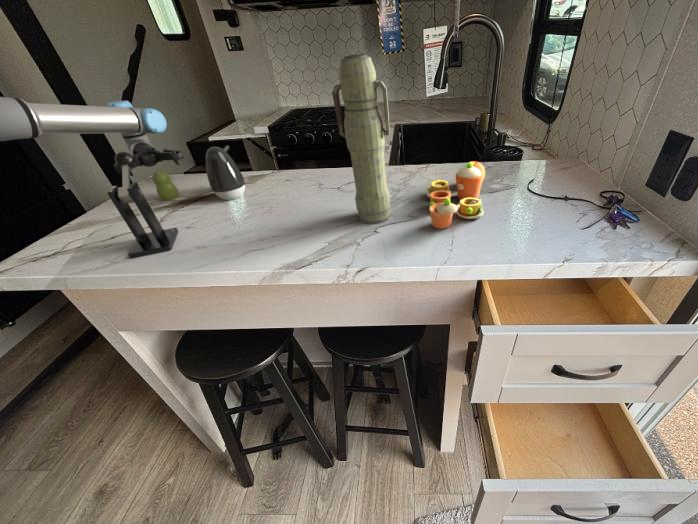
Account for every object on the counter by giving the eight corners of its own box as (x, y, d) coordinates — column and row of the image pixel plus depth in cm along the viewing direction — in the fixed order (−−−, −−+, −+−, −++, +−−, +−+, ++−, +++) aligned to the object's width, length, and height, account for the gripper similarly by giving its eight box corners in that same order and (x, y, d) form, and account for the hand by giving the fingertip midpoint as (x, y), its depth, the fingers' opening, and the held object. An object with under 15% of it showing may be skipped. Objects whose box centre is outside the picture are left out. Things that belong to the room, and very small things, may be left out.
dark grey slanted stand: (141, 238, 89) (107, 183, 80) (178, 231, 91) (149, 176, 82) (130, 258, 81) (90, 199, 72) (171, 250, 83) (137, 191, 74)
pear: (163, 207, 105) (146, 175, 99) (164, 202, 109) (147, 171, 102) (183, 203, 107) (167, 171, 101) (183, 198, 111) (167, 167, 104)
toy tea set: (426, 191, 101) (426, 157, 95) (479, 189, 100) (482, 155, 93) (424, 232, 81) (423, 193, 75) (489, 231, 79) (494, 191, 73)
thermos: (355, 210, 94) (330, 56, 72) (397, 208, 93) (385, 51, 71) (350, 224, 87) (321, 59, 65) (395, 222, 86) (382, 54, 64)
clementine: (466, 192, 98) (468, 167, 94) (453, 185, 103) (454, 161, 99) (488, 186, 101) (491, 161, 96) (474, 179, 106) (476, 156, 101)
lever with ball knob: (121, 162, 84) (110, 149, 80) (139, 159, 85) (129, 146, 81) (122, 206, 79) (110, 195, 75) (141, 203, 80) (130, 191, 76)
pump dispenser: (256, 192, 110) (239, 142, 101) (232, 204, 103) (211, 153, 94) (233, 189, 114) (215, 141, 104) (209, 201, 107) (186, 150, 97)
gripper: (186, 156, 129) (199, 168, 116) (111, 173, 118) (115, 188, 105) (177, 135, 125) (189, 144, 111) (97, 151, 114) (100, 164, 100)
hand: (153, 166), depth 108 cm, fingers open, 13 cm apart
